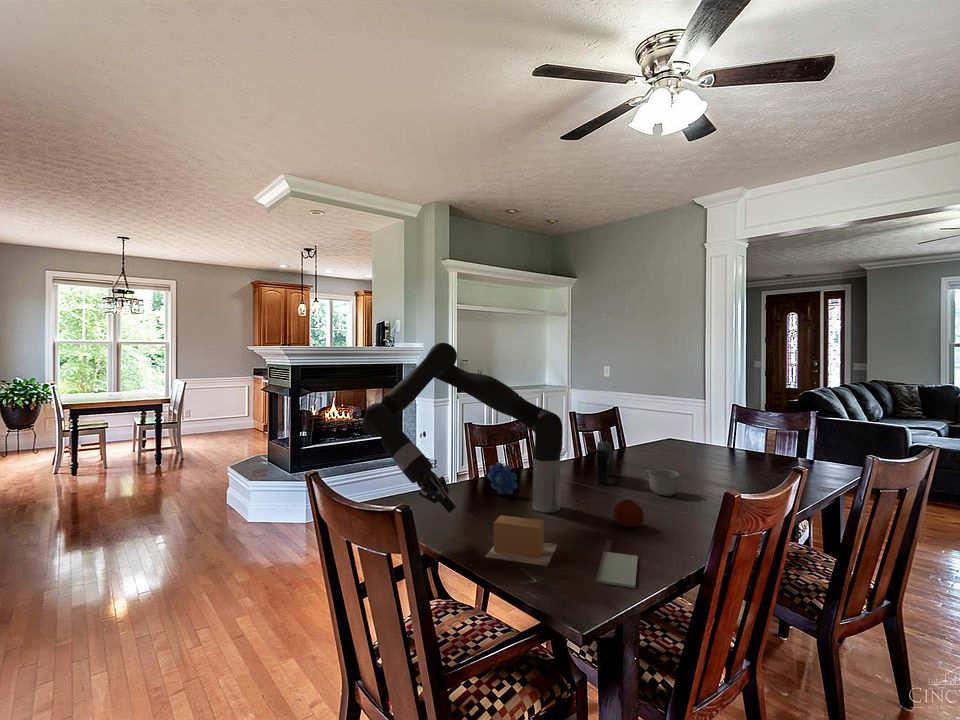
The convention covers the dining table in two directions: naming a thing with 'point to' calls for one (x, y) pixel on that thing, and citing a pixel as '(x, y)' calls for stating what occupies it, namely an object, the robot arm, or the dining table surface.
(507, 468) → the grapes
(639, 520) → the fruit
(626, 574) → the mat
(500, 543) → the block
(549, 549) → the board
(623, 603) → the dining table surface
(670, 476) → the teacup
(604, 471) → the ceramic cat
